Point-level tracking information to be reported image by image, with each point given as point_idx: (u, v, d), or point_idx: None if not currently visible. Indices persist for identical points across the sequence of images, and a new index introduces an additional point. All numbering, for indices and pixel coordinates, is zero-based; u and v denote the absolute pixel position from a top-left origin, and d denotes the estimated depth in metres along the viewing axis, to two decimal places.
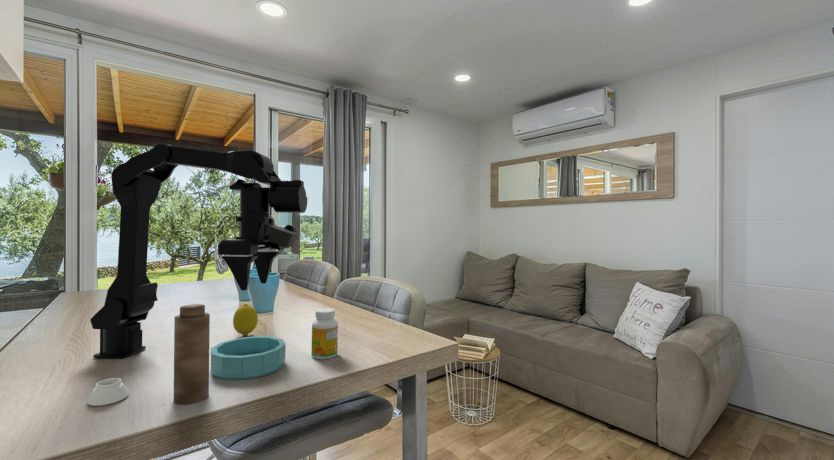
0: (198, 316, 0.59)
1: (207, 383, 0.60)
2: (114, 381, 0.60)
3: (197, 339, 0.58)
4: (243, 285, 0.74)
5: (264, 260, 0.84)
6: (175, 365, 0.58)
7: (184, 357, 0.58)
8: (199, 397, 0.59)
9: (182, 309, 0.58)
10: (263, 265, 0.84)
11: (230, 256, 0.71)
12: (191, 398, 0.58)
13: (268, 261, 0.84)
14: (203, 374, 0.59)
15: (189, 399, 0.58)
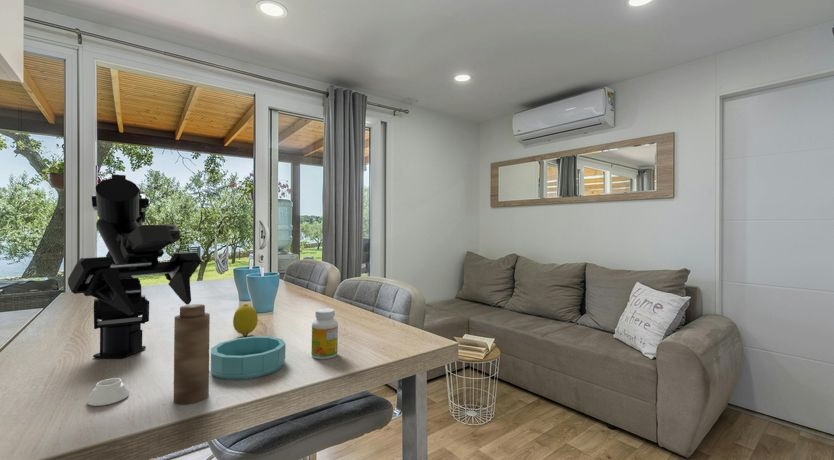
0: (198, 316, 0.59)
1: (207, 383, 0.60)
2: (114, 381, 0.60)
3: (197, 339, 0.58)
4: (125, 308, 0.59)
5: (178, 281, 0.69)
6: (175, 365, 0.58)
7: (184, 357, 0.58)
8: (199, 397, 0.59)
9: (182, 309, 0.58)
10: (179, 286, 0.69)
11: (86, 286, 0.58)
12: (191, 398, 0.58)
13: (181, 278, 0.69)
14: (203, 374, 0.59)
15: (189, 399, 0.58)
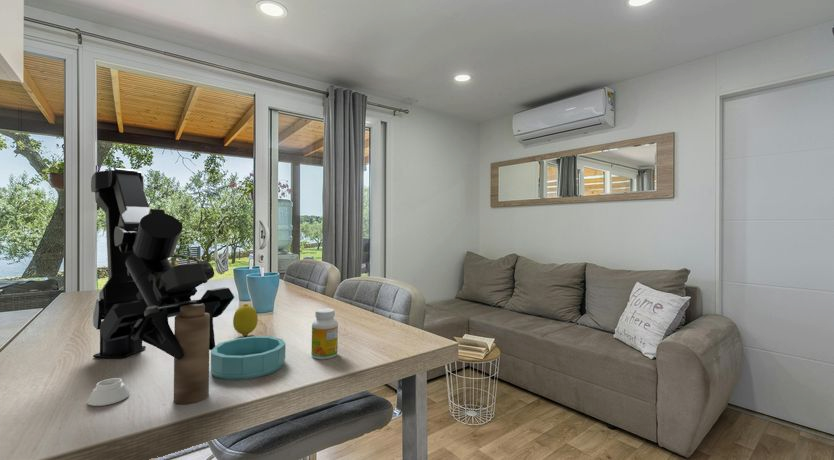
0: (198, 316, 0.59)
1: (207, 383, 0.60)
2: (115, 381, 0.60)
3: (197, 339, 0.58)
4: (175, 352, 0.57)
5: None
6: (175, 365, 0.58)
7: (184, 357, 0.58)
8: (199, 397, 0.59)
9: (182, 309, 0.58)
10: None
11: (135, 330, 0.56)
12: (191, 398, 0.58)
13: None
14: (203, 374, 0.59)
15: (189, 399, 0.58)
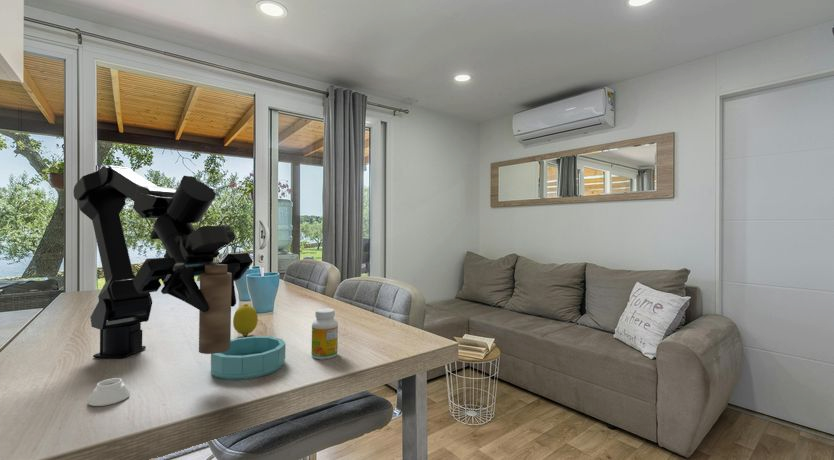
0: (221, 273, 0.64)
1: (229, 336, 0.65)
2: (115, 381, 0.60)
3: (221, 294, 0.63)
4: (201, 305, 0.62)
5: None
6: (200, 318, 0.63)
7: (209, 311, 0.62)
8: (222, 348, 0.63)
9: (207, 266, 0.63)
10: None
11: (164, 285, 0.61)
12: (215, 348, 0.63)
13: None
14: (226, 327, 0.64)
15: (213, 349, 0.63)
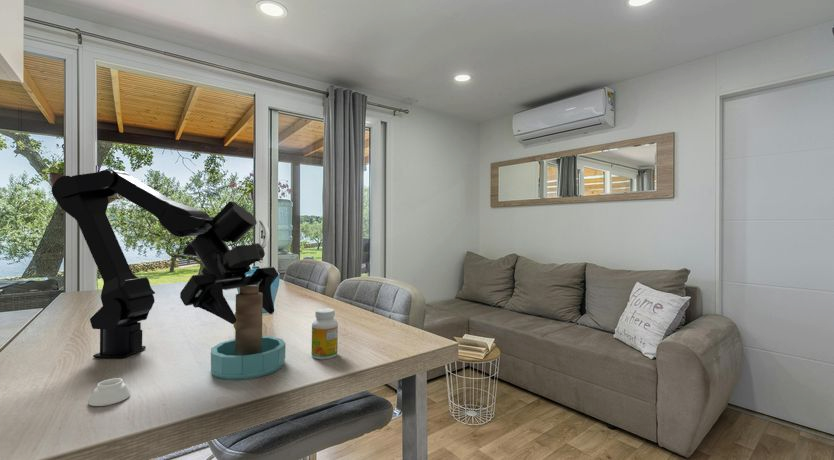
0: (254, 294, 0.73)
1: (261, 349, 0.74)
2: (115, 381, 0.60)
3: (254, 312, 0.72)
4: (229, 318, 0.69)
5: None
6: (237, 333, 0.72)
7: (245, 327, 0.71)
8: None
9: (242, 288, 0.72)
10: (263, 297, 0.78)
11: (196, 299, 0.68)
12: None
13: (263, 291, 0.78)
14: (259, 341, 0.73)
15: None
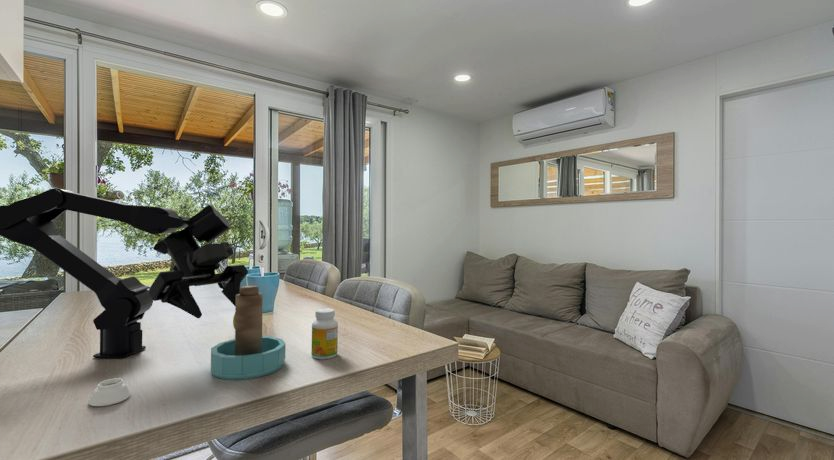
0: (254, 294, 0.72)
1: (261, 350, 0.74)
2: (116, 381, 0.60)
3: (254, 313, 0.72)
4: (195, 312, 0.72)
5: (230, 289, 0.83)
6: (237, 334, 0.71)
7: (245, 328, 0.71)
8: None
9: (242, 289, 0.72)
10: (232, 293, 0.82)
11: (164, 295, 0.72)
12: None
13: (233, 287, 0.82)
14: (259, 341, 0.73)
15: None
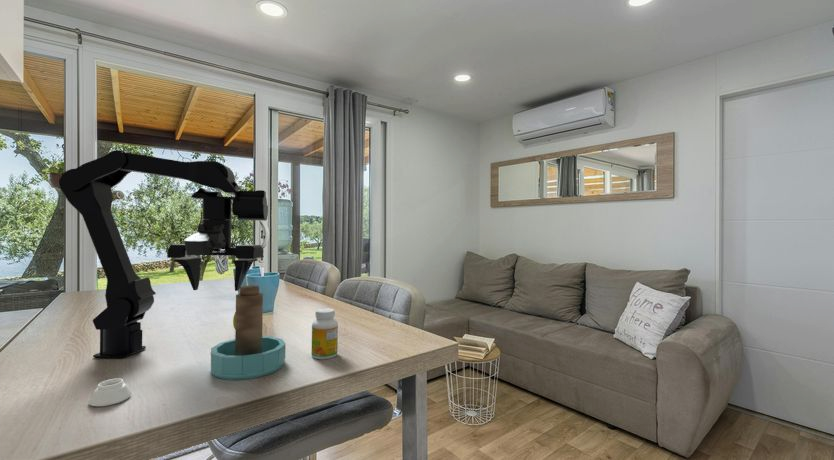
0: (255, 294, 0.72)
1: (261, 350, 0.74)
2: (116, 382, 0.60)
3: (254, 313, 0.72)
4: None
5: None
6: (237, 334, 0.71)
7: (245, 327, 0.71)
8: None
9: (242, 288, 0.72)
10: None
11: None
12: None
13: None
14: (259, 341, 0.73)
15: None
